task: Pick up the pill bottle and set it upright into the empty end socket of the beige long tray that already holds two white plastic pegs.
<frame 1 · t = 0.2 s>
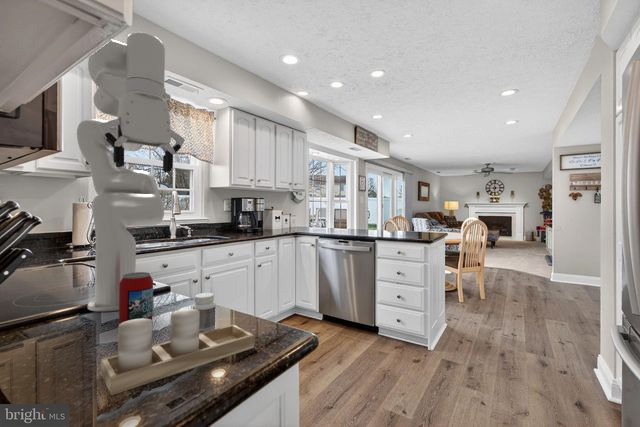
hand: (144, 169, 70), 36 cm above the worktop, tool pointing down, fingers open, 9 cm apart
beverage can: (136, 326, 72), on the worktop
pill bottle: (203, 333, 69), on the worktop
beige long tray: (184, 359, 57), on the worktop
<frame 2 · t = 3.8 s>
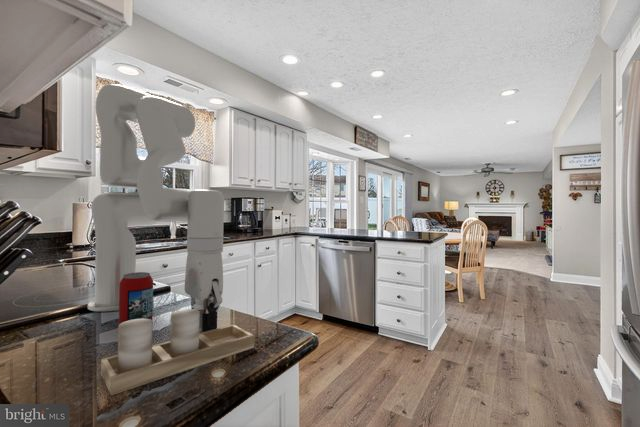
hand: (204, 326, 69), 1 cm above the worktop, tool pointing down, fingers closed on pill bottle, 4 cm apart
pill bottle: (203, 333, 69), on the worktop, touching gripper
everything else where it was.
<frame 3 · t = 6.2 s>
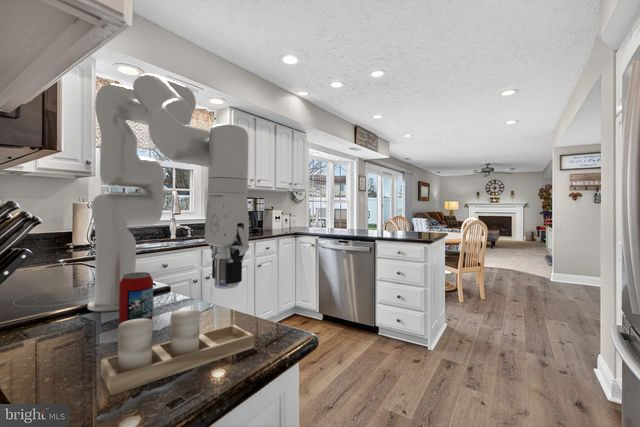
hand: (226, 279, 62), 14 cm above the worktop, tool pointing down, fingers closed on pill bottle, 4 cm apart
pill bottle: (226, 287, 62), point 12 cm above the worktop, touching gripper
everything else where it was.
when the fingers open (3 cm above the worktop, at t = 8.6 s): pill bottle drops 2 cm, resting on beige long tray.
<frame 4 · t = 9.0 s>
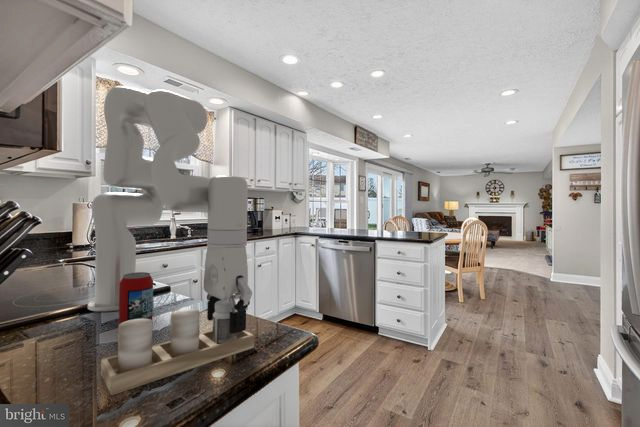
hand: (225, 324, 62), 4 cm above the worktop, tool pointing down, fingers open, 8 cm apart
pill bottle: (224, 345, 62), resting on beige long tray
everything else where it was.
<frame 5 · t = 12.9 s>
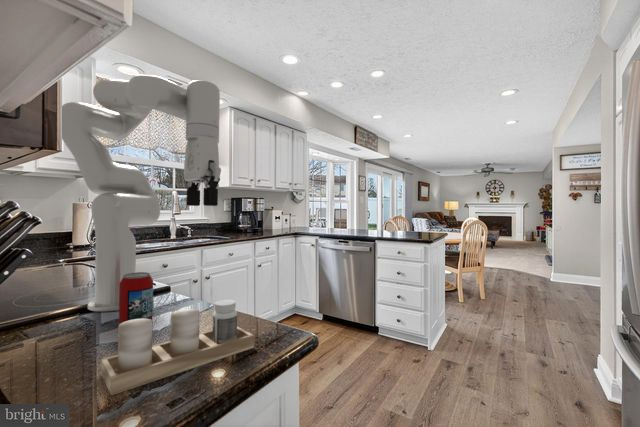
hand: (201, 205, 76), 28 cm above the worktop, tool pointing down, fingers open, 9 cm apart
nothing on the worktop moved.
at the end: pill bottle 0.3 cm from the target spot on the beige long tray, point 0.3 cm above the beige long tray's base; pill bottle tilted 0°; the gripper is holding nothing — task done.
